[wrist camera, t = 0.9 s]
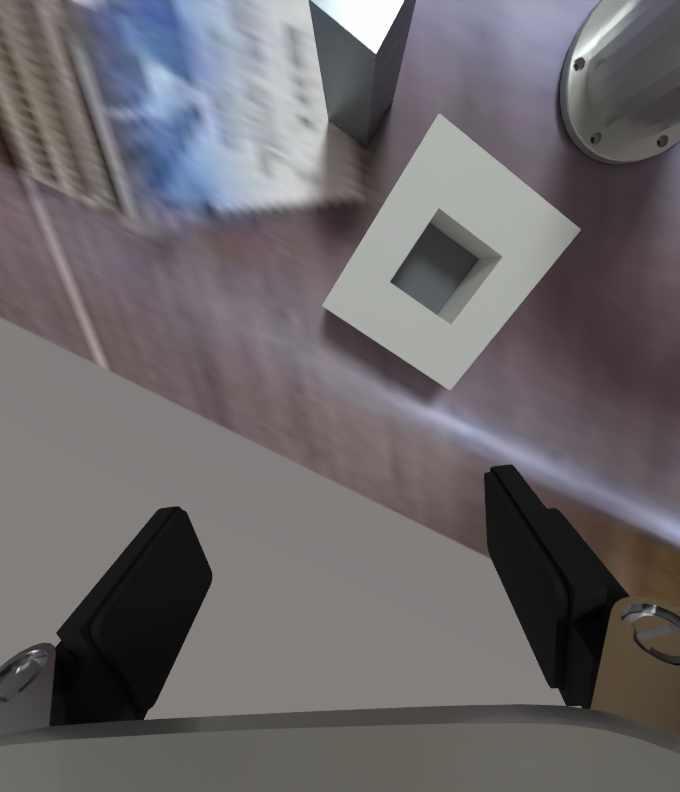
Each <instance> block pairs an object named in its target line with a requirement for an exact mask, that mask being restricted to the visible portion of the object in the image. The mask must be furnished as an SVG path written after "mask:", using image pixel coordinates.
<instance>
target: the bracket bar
mask: <svg viewBox="0 0 680 792" xmlns="http://www.w3.org/2000/svg"><path fill="white" fill-rule="evenodd" d="M415 2H416V0H309V5H310V11H311V17H312V23H313V29H314V35H315V42H316V48H317V54H318V60H319V66H320V72H321V78H322V84H323V90H324V96H325V102H326V108H327V114H328V120H330V121H331V122H332V123H334V124H335V125H336V126H338V127H339V128H340V129H342V130H343V131H344V132H345V133H347V134H348V135H349V136H351V137H352V138H353V139H355V140H356V141H357V142H359V143H360V144H361V145H362V146H364V147H365V148H367V146H368V145H369V143H370V141H371V139H372V137H373V136H374V134H375V132H376V130H377V129H378V127H379V125H380V123H381V121H382V120H383V118H384V116H385V114H386V113H387V111H388V109H389V107H390V105H391V104H392V102H393V98H394V94H395V89H396V85H397V81H398V76H399V72H400V68H401V63H402V59H403V54H404V50H405V46H406V41H407V37H408V33H409V28H410V24H411V20H412V15H413V11H414V6H415Z"/></svg>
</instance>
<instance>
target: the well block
mask: <svg viewBox="0 0 680 792" xmlns="http://www.w3.org/2000/svg"><path fill="white" fill-rule="evenodd" d="M580 231H581V229H580V228H579V227H578V226H576V225H575V224H574V223H573V222H571V221H570V220H569V219H568V218H567V217H565V216H564V215H563V214H562V213H560V212H559V211H558V210H557V209H556V208H554V207H553V206H552V205H551V204H549V203H548V202H547V201H546V200H545V199H543V198H542V197H541V196H540V195H538V194H537V193H536V192H535V191H534V190H532V189H531V188H530V187H529V186H527V185H526V184H525V183H524V182H523V181H521V180H520V179H519V178H518V177H517V176H515V175H514V174H513V173H512V172H510V171H509V170H508V169H507V168H506V167H504V166H503V165H502V164H501V163H499V162H498V161H497V160H496V159H495V158H493V157H492V156H491V155H490V154H488V153H487V152H486V151H485V150H484V149H482V148H481V147H480V146H479V145H477V144H476V143H475V142H474V141H473V140H471V139H470V138H469V137H468V136H466V135H465V134H464V133H463V132H462V131H460V130H459V129H458V128H457V127H455V126H454V125H453V124H452V123H451V122H449V121H448V120H447V119H446V118H444V117H443V116H442V115H441V114H440V113H439V114H438V116H437V117H436V119H435V121H434V122H433V124H432V126H431V127H430V129H429V131H428V132H427V134H426V136H425V137H424V139H423V140H422V142H421V144H420V145H419V147H418V149H417V150H416V152H415V154H414V155H413V157H412V159H411V160H410V162H409V163H408V165H407V167H406V168H405V170H404V172H403V173H402V175H401V177H400V178H399V180H398V182H397V183H396V185H395V187H394V188H393V190H392V191H391V193H390V195H389V196H388V198H387V200H386V201H385V203H384V205H383V206H382V208H381V210H380V211H379V213H378V215H377V216H376V218H375V219H374V221H373V223H372V224H371V226H370V228H369V229H368V231H367V233H366V234H365V236H364V238H363V239H362V241H361V243H360V244H359V246H358V247H357V249H356V251H355V252H354V254H353V256H352V257H351V259H350V261H349V262H348V264H347V266H346V267H345V269H344V271H343V272H342V274H341V275H340V277H339V279H338V280H337V282H336V284H335V285H334V287H333V289H332V290H331V292H330V294H329V295H328V297H327V298H326V300H325V302H324V303H323V305H322V306H323V307H324V308H326V309H327V310H329V311H330V312H332V313H333V314H335V315H336V316H338V317H339V318H341V319H343V320H344V321H346V322H347V323H349V324H350V325H352V326H353V327H355V328H356V329H358V330H359V331H361V332H362V333H364V334H365V335H367V336H368V337H370V338H371V339H373V340H374V341H376V342H377V343H379V344H380V345H382V346H383V347H385V348H386V349H388V350H389V351H391V352H392V353H394V354H395V355H397V356H398V357H400V358H401V359H403V360H405V361H406V362H408V363H409V364H411V365H412V366H414V367H415V368H417V369H418V370H420V371H421V372H423V373H424V374H426V375H427V376H429V377H430V378H432V379H433V380H435V381H436V382H438V383H439V384H441V385H442V386H444V387H445V388H447V389H448V390H451V389H452V388H453V386H454V385H455V384H456V383H457V381H458V380H459V379H460V378H461V376H462V375H463V374H464V373H465V372H466V370H467V369H468V368H469V367H470V365H471V364H472V363H473V362H474V361H475V359H476V358H477V357H478V356H479V354H480V353H481V352H482V351H483V350H484V348H485V347H486V346H487V345H488V343H489V342H490V341H491V340H492V338H493V337H494V336H495V335H496V334H497V332H498V331H499V330H500V329H501V327H502V326H503V325H504V324H505V323H506V321H507V320H508V319H509V318H510V316H511V315H512V314H513V313H514V311H515V310H516V309H517V308H518V307H519V305H520V304H521V303H522V302H523V300H524V299H525V298H526V297H527V296H528V294H529V293H530V292H531V291H532V289H533V288H534V287H535V286H536V285H537V283H538V282H539V281H540V280H541V278H542V277H543V276H544V275H545V273H546V272H547V271H548V270H549V269H550V267H551V266H552V265H553V264H554V262H555V261H556V260H557V259H558V258H559V256H560V255H561V254H562V253H563V251H564V250H565V249H566V248H567V246H568V245H569V244H570V243H571V242H572V240H573V239H574V238H575V237H576V235H577V234H578V233H579V232H580Z"/></svg>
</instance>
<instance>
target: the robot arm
mask: <svg viewBox="0 0 680 792" xmlns="http://www.w3.org/2000/svg"><path fill="white" fill-rule="evenodd" d="M574 68H575V69H574ZM560 105H561V112H562V118H563V121H564V124H565V127H566V129H567V132H568V134H569V135H570V137H571V139H572V140H573V142H574V144H575V145H576V146H577V147H578V148H579V149H580V150H581V151H582V152H583V153H584V154H586V155H588V156H589V157H591V158H593V159H595V160H597V161H600V162H604V163H607V164H628V163H634V162H639V161H641V160H644V159H647V158H650V157H653V156H655V155H657V154H659V153H662V152H664V151H666V150H667V149H669V148H670V147H672V146H673V145H675V144H676V143H678V142H679V141H680V0H600V1H599V2H598V4H597V5H596V6H595V7H594V8H593V9H592V10H591V12H590V13H589V15H588V16H587V18H586V19H585V21H584V22H583V23H582V25H581V26H580V28H579V30H578V32H577V34H576V36H575V38H574V40H573V42H572V44H571V46H570V48H569V51H568V54H567V57H566V60H565V63H564V67H563V72H562V78H561V84H560ZM590 139H591V141H590ZM484 484H485V506H486V528H487V546H488V551H489V554H490V557H491V559H492V561H493V563H494V566H495V568H496V570H497V573H498V575H499V577H500V579H501V581H502V583H503V586H504V587H505V590H506V593H507V595H508V597H509V599H510V601H511V603H512V606H513V608H514V610H515V613H516V615H517V617H518V619H519V621H520V624H521V626H522V628H523V630H524V633H525V635H526V637H527V639H528V641H529V644H530V646H531V648H532V650H533V652H534V655H535V657H536V659H537V661H538V663H539V666H540V668H541V670H542V672H543V675H544V677H545V679H546V681H547V683H548V685H549V686H550V687H551V688H558V689H559V691H560V693H561V695H562V698H563V700H564V702H565V704H566V706H554V705H524V704H515V705H467V706H432V707H406V708H383V709H358V710H334V711H312V712H292V713H270V714H249V715H230V716H209V717H191V718H171V719H155V720H144V718H145V716H146V713H147V711H148V709H150V708H152V707H153V705H154V704H155V703H156V701H157V699H158V697H159V694H160V692H161V690H162V688H163V686H164V684H165V681H166V679H167V677H168V675H169V673H170V671H171V669H172V666H173V664H174V662H175V660H176V658H177V656H178V653H179V652H180V649H181V647H182V645H183V643H184V641H185V639H186V636H187V634H188V632H189V630H190V628H191V626H192V623H193V621H194V619H195V617H196V615H197V613H198V611H199V609H200V607H201V604H202V602H203V600H204V598H205V596H206V593H207V591H208V589H209V587H210V585H211V582H212V571H211V569H210V566H209V564H208V561H207V559H206V557H205V554H204V552H203V550H202V547H201V545H200V543H199V540H198V538H197V535H196V533H195V531H194V528H193V526H192V524H191V521H190V519H189V517H188V515H187V512H186V511H184V510H182V509H181V508H180V507H168V508H161V509H159V510H158V511H156V513H155V514H154V515H153V516H152V517H151V519H150V520H149V521H148V522H147V524H146V525H145V526H144V527H143V528H142V530H141V531H140V532H139V533H138V535H137V536H136V537H135V538H134V539H133V541H132V542H131V543H130V544H129V545H128V547H127V548H126V549H125V550H124V552H123V553H122V554H121V555H120V556H119V558H118V559H117V560H116V561H115V562H114V564H113V565H112V566H111V567H110V568H109V570H108V571H107V572H106V573H105V575H104V576H103V577H102V578H101V579H100V580H99V582H98V583H97V584H96V585H95V587H94V588H93V589H92V590H91V592H90V593H89V594H88V595H87V596H86V597H85V599H84V600H83V601H82V602H81V603H80V605H79V606H78V607H77V608H76V610H75V611H74V612H73V613H72V614H71V616H70V617H69V618H68V619H67V621H66V622H65V623H64V624H63V625H62V627H61V628H60V629H59V630H58V632H57V635H58V636H59V638H60V639H61V642H60V643H59V644H58V645H57V646H56V648H55V646H53V645H52V644H51V643H41V644H37V645H34V646H31V647H29V648H28V649H25V650H23V651H21V652H20V653H18V654H17V655H15V656H14V657H12V658H11V659H9V660H8V661H7V662H6V663H5V664H4V665H2V666H1V667H0V792H680V609H678V608H676V607H674V606H671V605H669V604H667V603H665V602H662V601H659V600H656V599H652V598H649V597H639V596H632V597H630V596H629V595H628V594H627V592H626V591H625V590H624V589H623V588H622V586H621V585H620V584H619V583H618V581H617V580H616V579H615V578H614V577H613V575H612V574H611V573H610V572H609V570H608V569H607V568H606V567H605V566H604V564H603V563H602V562H601V561H600V559H599V558H598V557H597V556H596V555H595V553H594V552H593V551H592V550H591V548H590V547H589V546H588V545H587V544H586V542H585V541H584V540H583V539H582V537H581V536H580V535H579V534H578V533H577V531H576V530H575V529H574V528H573V526H572V525H571V524H570V523H569V522H568V520H567V519H566V518H565V517H564V515H563V514H562V513H561V512H560V511H559V510H557V509H555V508H551V509H547V508H546V507H545V506H544V505H543V503H542V502H541V501H540V499H539V498H538V497H537V495H536V494H535V493H534V492H533V490H532V489H531V488H530V486H529V485H528V484H527V483H526V481H525V480H524V479H523V477H522V476H521V475H520V473H519V472H518V471H517V470H516V468H515V467H514V466H513V465H503V466H495V467H491V469H490V472H488V473H485V474H484ZM568 706H581V707H582V708H575V707H568Z"/></svg>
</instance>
